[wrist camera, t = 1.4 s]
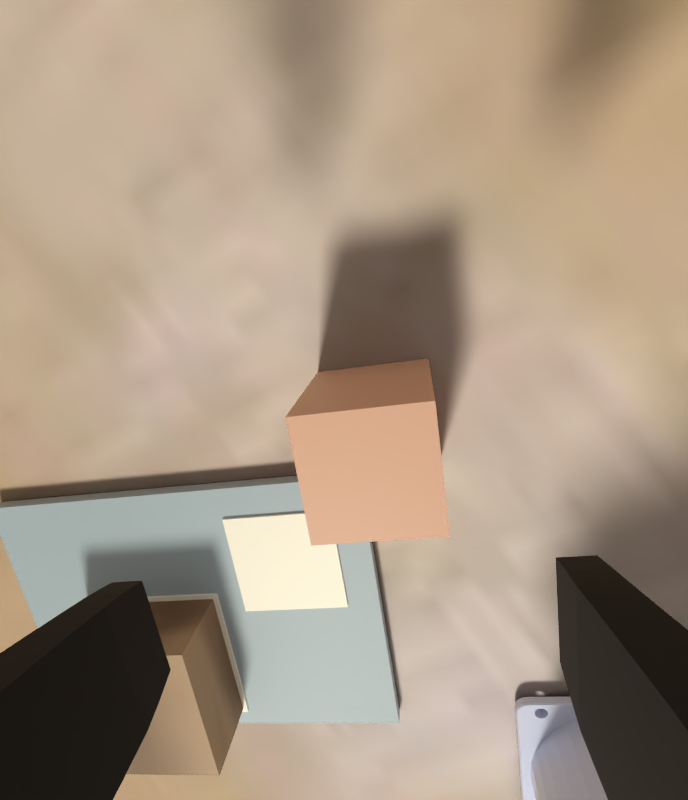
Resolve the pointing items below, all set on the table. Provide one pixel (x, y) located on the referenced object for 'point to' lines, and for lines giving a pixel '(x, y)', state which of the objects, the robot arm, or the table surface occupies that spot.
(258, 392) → the table surface
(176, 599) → the board
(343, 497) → the terracotta block
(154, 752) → the walnut block
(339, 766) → the table surface
